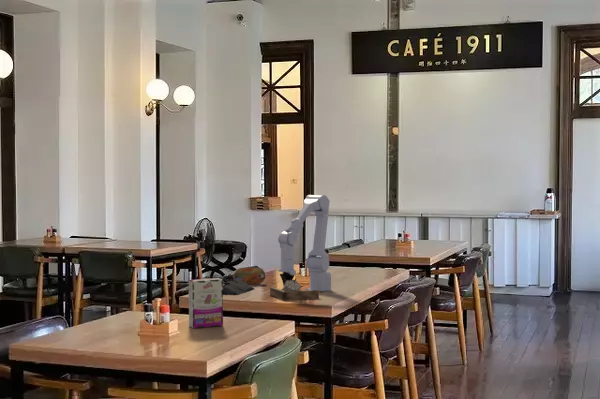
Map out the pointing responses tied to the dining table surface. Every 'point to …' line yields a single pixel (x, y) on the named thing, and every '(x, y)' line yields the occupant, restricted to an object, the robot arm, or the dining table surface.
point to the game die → (291, 286)
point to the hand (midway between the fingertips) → (287, 289)
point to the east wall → (277, 293)
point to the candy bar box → (205, 303)
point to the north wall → (301, 294)
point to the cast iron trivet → (236, 287)
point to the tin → (250, 275)
